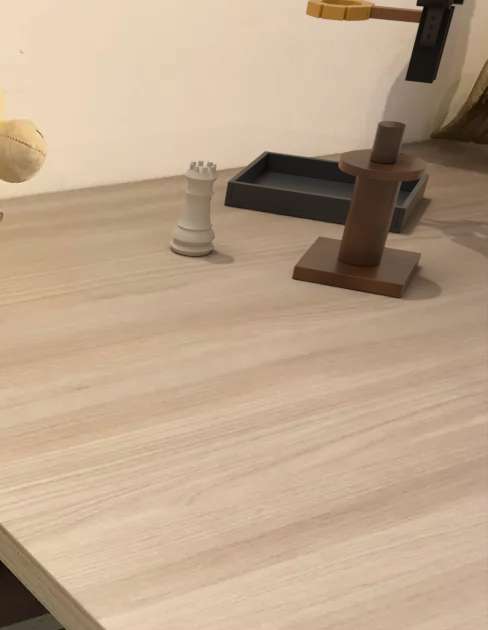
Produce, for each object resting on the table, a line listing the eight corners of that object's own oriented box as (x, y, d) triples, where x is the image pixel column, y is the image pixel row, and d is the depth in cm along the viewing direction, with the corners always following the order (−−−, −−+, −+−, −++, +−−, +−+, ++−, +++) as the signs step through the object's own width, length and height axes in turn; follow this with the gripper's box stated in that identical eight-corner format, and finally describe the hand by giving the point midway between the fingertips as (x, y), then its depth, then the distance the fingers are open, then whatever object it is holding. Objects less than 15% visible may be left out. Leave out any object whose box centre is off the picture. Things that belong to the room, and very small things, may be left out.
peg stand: (418, 265, 101) (459, 119, 93) (399, 298, 94) (442, 143, 86) (316, 248, 105) (347, 106, 96) (291, 278, 98) (322, 128, 89)
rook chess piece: (222, 252, 103) (236, 166, 98) (189, 260, 101) (202, 173, 96) (192, 239, 106) (204, 155, 101) (159, 247, 104) (170, 161, 99)
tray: (423, 197, 119) (429, 173, 118) (399, 233, 109) (406, 208, 107) (261, 173, 126) (264, 150, 124) (224, 205, 115) (227, 181, 114)
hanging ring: (300, 16, 106) (303, 3, 105) (315, 8, 110) (317, -5, 109) (442, 30, 101) (445, 16, 100) (451, 21, 106) (455, 7, 105)
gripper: (464, -218, 98) (395, 64, 113) (441, -221, 88) (370, 87, 103) (549, -216, 95) (467, 72, 111) (535, -220, 86) (447, 97, 101)
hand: (420, 79), depth 107 cm, fingers closed on hanging ring
